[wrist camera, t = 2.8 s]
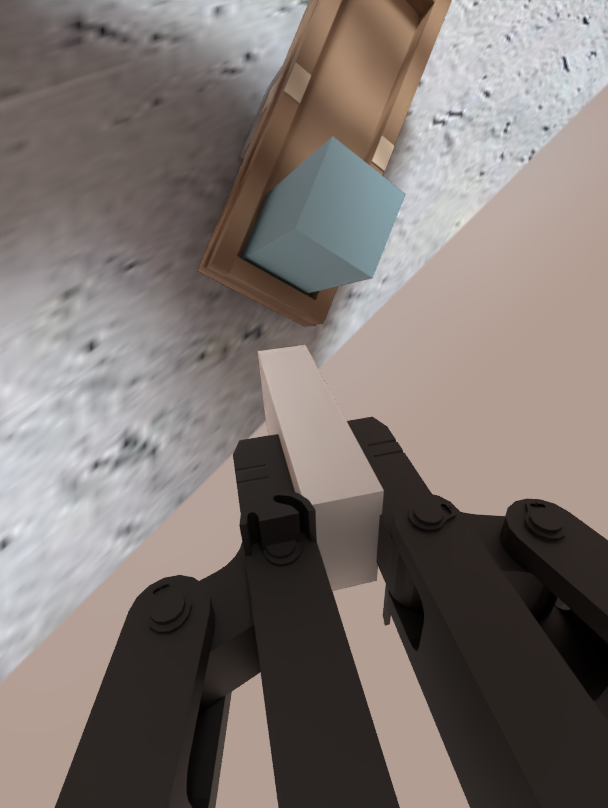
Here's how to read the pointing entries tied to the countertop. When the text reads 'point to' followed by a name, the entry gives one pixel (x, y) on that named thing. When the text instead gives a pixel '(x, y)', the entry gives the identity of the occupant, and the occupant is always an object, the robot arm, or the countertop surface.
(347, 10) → the long brown tray
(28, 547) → the countertop surface
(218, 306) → the countertop surface
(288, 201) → the block
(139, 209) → the countertop surface
